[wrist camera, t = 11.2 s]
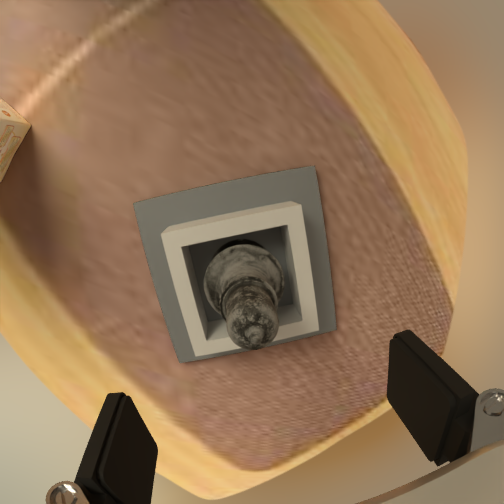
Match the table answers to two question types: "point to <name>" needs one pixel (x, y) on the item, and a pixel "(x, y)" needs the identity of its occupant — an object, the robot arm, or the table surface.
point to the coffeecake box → (10, 134)
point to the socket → (228, 229)
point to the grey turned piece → (246, 291)
